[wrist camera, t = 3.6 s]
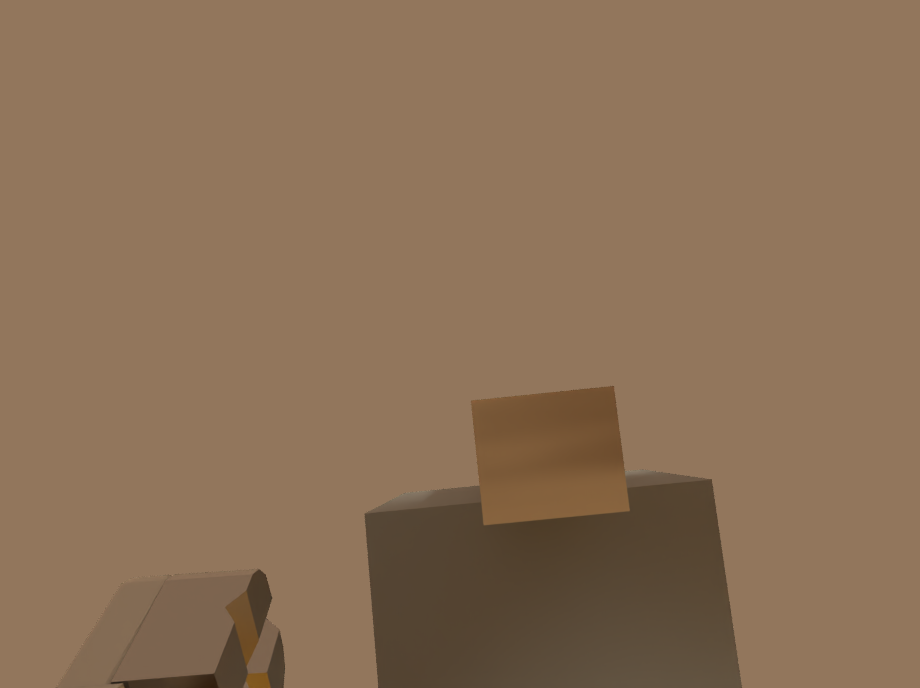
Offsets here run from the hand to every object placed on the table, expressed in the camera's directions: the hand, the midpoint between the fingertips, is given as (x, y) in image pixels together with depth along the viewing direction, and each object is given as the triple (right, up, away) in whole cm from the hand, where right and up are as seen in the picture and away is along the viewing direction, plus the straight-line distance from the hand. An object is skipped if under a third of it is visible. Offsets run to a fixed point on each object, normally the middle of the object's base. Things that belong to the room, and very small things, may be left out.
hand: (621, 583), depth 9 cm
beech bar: (+1, -3, +19) cm, 19 cm away
